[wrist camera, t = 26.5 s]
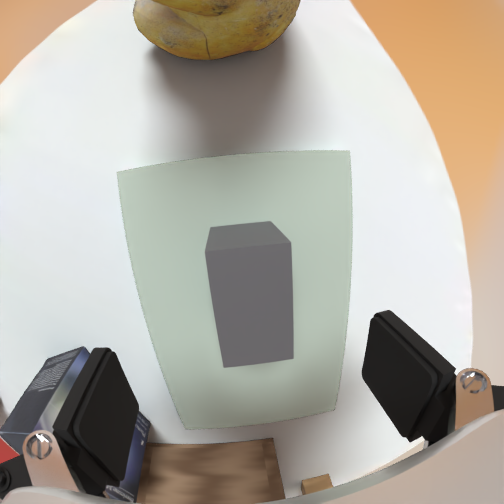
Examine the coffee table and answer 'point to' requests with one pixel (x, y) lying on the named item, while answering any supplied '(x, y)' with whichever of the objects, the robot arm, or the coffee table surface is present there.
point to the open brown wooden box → (210, 473)
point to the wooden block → (316, 484)
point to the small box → (48, 406)
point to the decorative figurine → (213, 25)
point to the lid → (244, 280)
